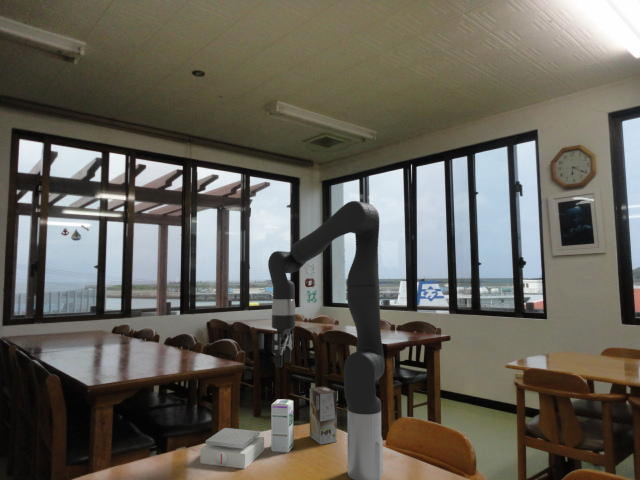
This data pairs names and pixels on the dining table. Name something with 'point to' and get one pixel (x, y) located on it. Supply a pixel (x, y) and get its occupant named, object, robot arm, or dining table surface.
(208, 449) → the white square slab
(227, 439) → the pan
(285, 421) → the syrup box
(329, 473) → the dining table surface
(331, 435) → the coffee box
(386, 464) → the dining table surface
